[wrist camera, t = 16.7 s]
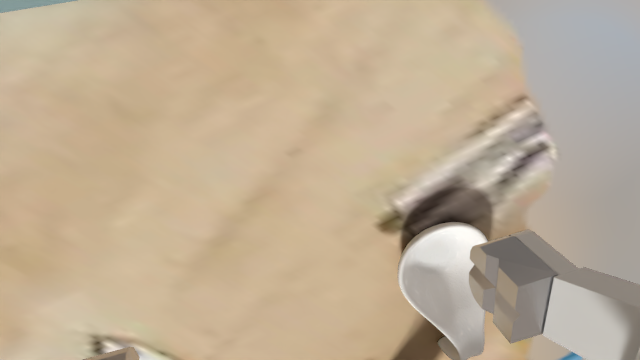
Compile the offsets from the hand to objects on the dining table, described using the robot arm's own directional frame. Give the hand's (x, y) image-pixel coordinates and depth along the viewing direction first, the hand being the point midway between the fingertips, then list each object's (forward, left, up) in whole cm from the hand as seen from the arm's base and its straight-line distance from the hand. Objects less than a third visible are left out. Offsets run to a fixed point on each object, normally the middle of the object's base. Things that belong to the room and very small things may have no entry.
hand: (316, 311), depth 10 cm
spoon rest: (+20, -35, -32) cm, 51 cm away
